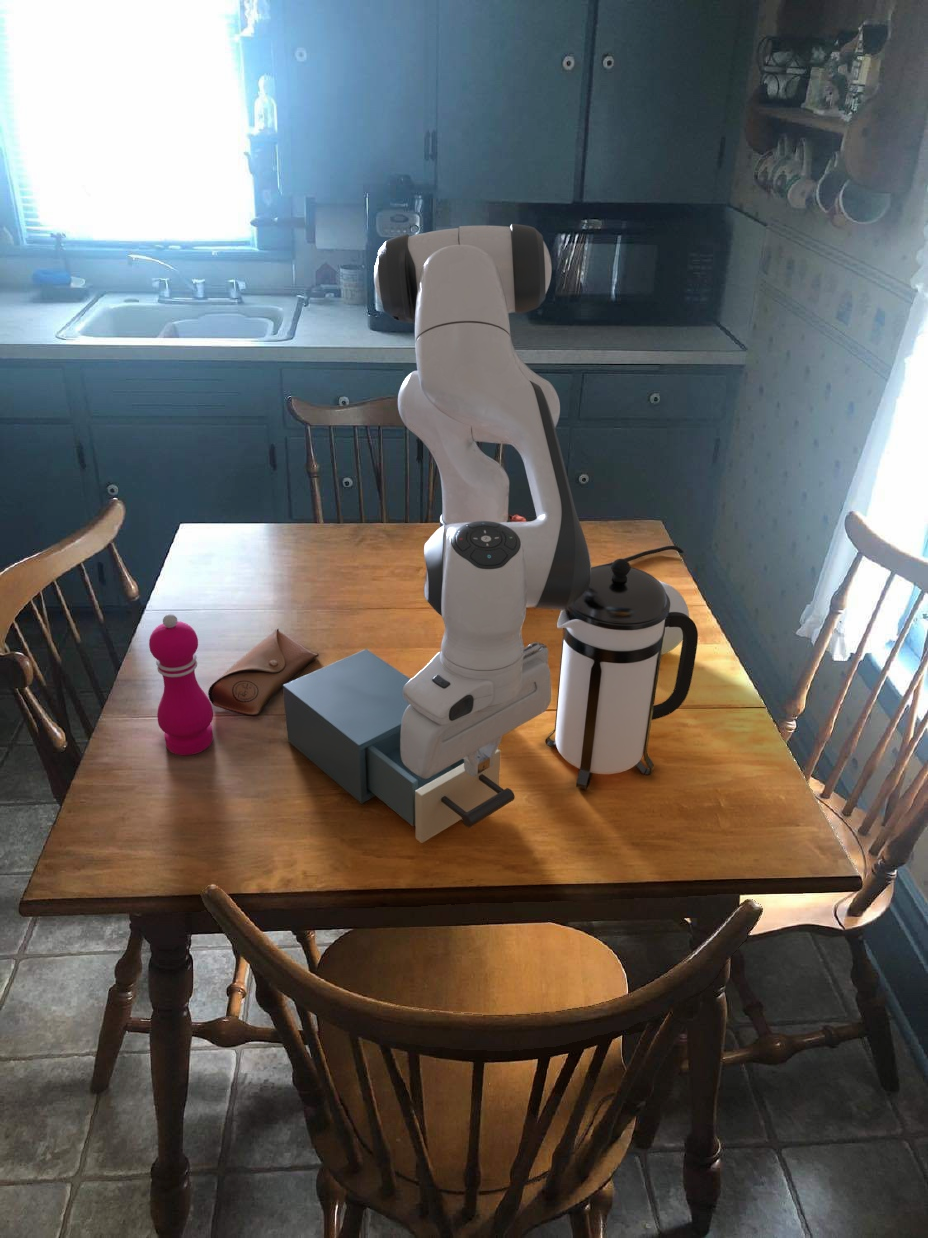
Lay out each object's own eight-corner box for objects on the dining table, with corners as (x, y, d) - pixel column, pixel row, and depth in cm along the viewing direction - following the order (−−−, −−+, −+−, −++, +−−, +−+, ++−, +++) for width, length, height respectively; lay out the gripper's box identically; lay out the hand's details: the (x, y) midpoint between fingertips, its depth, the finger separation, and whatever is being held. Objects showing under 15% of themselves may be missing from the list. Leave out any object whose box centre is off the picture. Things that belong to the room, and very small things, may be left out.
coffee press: (638, 812, 118) (670, 604, 103) (524, 770, 125) (538, 569, 110) (682, 739, 132) (716, 544, 116) (576, 704, 138) (595, 516, 123)
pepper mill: (167, 726, 132) (145, 601, 122) (220, 724, 132) (202, 599, 122) (157, 759, 126) (133, 630, 115) (213, 757, 126) (193, 629, 116)
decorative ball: (608, 627, 157) (615, 563, 151) (681, 634, 155) (692, 570, 149) (606, 667, 147) (614, 600, 141) (685, 674, 145) (696, 607, 139)
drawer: (529, 819, 116) (532, 772, 112) (452, 869, 108) (452, 820, 105) (419, 738, 129) (418, 694, 125) (343, 778, 122) (341, 732, 118)
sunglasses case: (259, 715, 133) (234, 676, 131) (225, 726, 137) (200, 688, 135) (322, 652, 148) (300, 616, 146) (290, 663, 151) (268, 628, 150)
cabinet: (444, 758, 127) (445, 701, 122) (361, 804, 119) (358, 745, 114) (368, 702, 137) (366, 648, 133) (287, 741, 129) (282, 685, 125)
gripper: (528, 625, 110) (522, 720, 117) (390, 692, 98) (392, 793, 105) (568, 648, 106) (559, 744, 113) (429, 720, 94) (429, 823, 101)
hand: (478, 769), depth 109 cm, fingers closed
